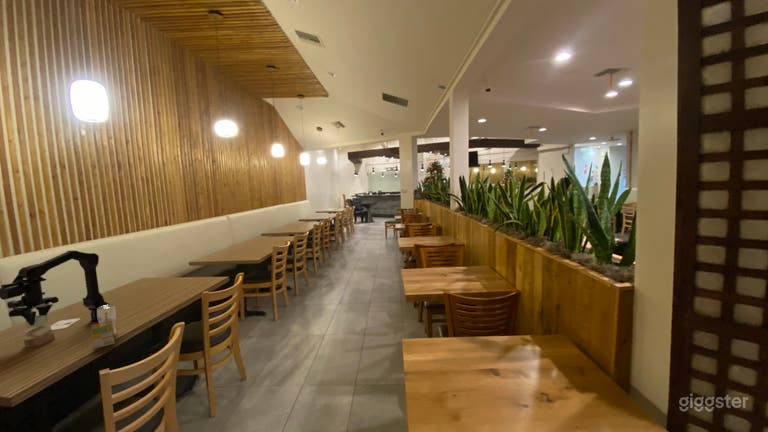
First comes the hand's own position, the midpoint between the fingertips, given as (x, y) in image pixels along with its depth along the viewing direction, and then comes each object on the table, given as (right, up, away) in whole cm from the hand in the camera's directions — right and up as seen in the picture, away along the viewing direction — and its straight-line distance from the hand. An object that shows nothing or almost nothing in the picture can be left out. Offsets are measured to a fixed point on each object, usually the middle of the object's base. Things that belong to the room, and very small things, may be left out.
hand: (37, 323), depth 149 cm
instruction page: (-11, -9, +22) cm, 26 cm away
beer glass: (+29, -9, +7) cm, 31 cm away
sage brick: (0, -1, 0) cm, 1 cm away
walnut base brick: (+1, -11, +1) cm, 11 cm away
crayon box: (+36, -10, -3) cm, 38 cm away
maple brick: (0, -7, +1) cm, 7 cm away
